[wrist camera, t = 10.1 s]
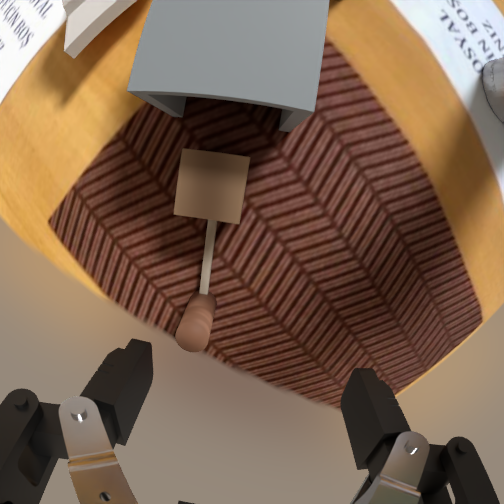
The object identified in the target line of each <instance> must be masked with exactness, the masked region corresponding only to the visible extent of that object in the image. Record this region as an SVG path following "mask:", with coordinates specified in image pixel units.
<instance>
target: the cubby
mask: <svg viewBox="0 0 504 504" xmlns="http://www.w3.org/2000/svg"><path fill="white" fill-rule="evenodd" d="M328 9H329V0H153V1H152V4H151V7H150V10H149V13H148V15H147V18H146V22H145V25H144V28H143V31H142V34H141V38H140V41H139V45H138V48H137V52H136V55H135V59H134V63H133V67H132V71H131V75H130V80H129V84H128V89H127V91H128V92H130V93H132V94H134V95H135V96H137V97H139V98H141V99H143V100H144V101H146V102H148V103H150V104H152V105H153V106H155V107H157V108H159V109H160V110H162V111H164V112H166V113H167V114H169V115H171V116H173V117H183V113H184V108H185V102H186V97H187V96H190V97H202V98H212V99H221V100H230V101H237V102H245V103H251V104H258V105H264V106H270V107H275V108H281V109H282V113H281V119H280V125H279V130H280V131H285V132H290V131H291V130H293V129H294V128H295V127H296V126H297V125H299V124H300V123H301V122H302V121H303V120H305V119H306V118H307V117H308V116H310V115H311V114H312V113H313V112H314V109H315V103H316V96H317V90H318V83H319V77H320V70H321V63H322V55H323V48H324V41H325V33H326V25H327V17H328Z"/></svg>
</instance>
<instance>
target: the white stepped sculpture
mask: <svg viewBox="0 0 504 504" xmlns="http://www.w3.org/2000/svg"><path fill="white" fill-rule="evenodd" d="M136 1H137V0H62V2H63V7H64V9H65V11H66V13H67V22H66V32H65V44H64V51H65V52H66V53H67V54H69V55H70V56H71V57H72V58H75V57H76V56H77V55H78V54H79V53H80V52H81V51H82V50H83V49H84V48H85V47H86V46H87V45H88V44H89V43H90V42H91V41H92V40H93V39H94V38H95V37H96V36H97V35H98V34H99V33H100V32H101V31H102V30H103V29H104V28H105V27H106V26H107V25H109V24H110V23H111V22H112V21H113V20H114V19H115V18H116V17H118V16H119V15H120V14H121V13H122V12H123V11H125V10H126V9H127V8H128V7H130V6H131V5H132V4H133V3H135V2H136Z"/></svg>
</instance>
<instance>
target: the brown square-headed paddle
mask: <svg viewBox="0 0 504 504" xmlns="http://www.w3.org/2000/svg"><path fill="white" fill-rule="evenodd" d="M249 163H250V157H245V156H239V155H232V154H225V153H218V152H210V151H202V150H194V149H184V148H182V154H181V161H180V167H179V175H178V182H177V190H176V198H175V206H174V215H181V216H188V217H195V218H202V219H208V225H207V232H206V240H205V248H204V257H203V265H202V274H201V283H200V290H198V291H196V292H194V293H193V294H192V296H191V298H190V300H189V303H188V305H187V307H186V310H185V312H184V315H183V317H182V319H181V322H180V324H179V326H178V329H177V331H176V335H175V338H176V341H177V343H178V345H179V346H180V347H181V348H183V349H184V350H186V351H189V352H199V351H201V350H203V349H204V348H205V347H206V346H207V344H208V340H209V336H210V331H211V327H212V322H213V318H214V314H215V309H216V305H217V301H216V298H215V296H214V295H213V294H212V293H211V292H209V291H208V289H209V281H210V273H211V265H212V257H213V249H214V242H215V235H216V227H217V221H221V222H228V223H234V224H239V222H240V217H241V212H242V206H243V200H244V194H245V188H246V181H247V175H248V169H249Z"/></svg>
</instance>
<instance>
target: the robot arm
mask: <svg viewBox="0 0 504 504" xmlns="http://www.w3.org/2000/svg"><path fill="white" fill-rule="evenodd" d="M483 85H484V89H485V93H486V96H487V99H488V101H489V103H490V106H491V107H492V109H493V111H494V113H495V114H496V115H497V117H498V118H499V119H500V120H501V121H502V122H503V123H504V57H502V58H499V59H495V60H492V61H489V62H488V63H486V65H485V66H484V70H483ZM152 379H153V362H152V345H151V343H150V342H146V341H141V340H137V339H131V340H130V342H129V343H128V345H127V346H126V348H125V349H121V348H117V349H115V350H114V351H112V352H111V353H109V354H108V355H107V357H106V358H105V359H104V361H103V363H102V364H101V365H100V367H99V368H98V371H96V372H95V374H94V375H93V377H92V378H91V380H90V381H89V383H88V384H87V386H86V387H85V389H84V390H83V392H82V393H81V395H80V396H77V397H76V396H75V397H71V398H68V399H66V400H65V401H64V402H63V403H62V404H51V403H43V402H39V400H38V398H37V396H36V395H35V393H33V392H32V391H30V390H28V389H16V390H14V391H12V392H11V393H9V394H8V395H7V397H6V398H5V399H4V401H3V402H2V403H1V405H0V504H39V502H40V500H41V498H42V495H43V493H44V490H45V488H46V485H47V483H48V481H49V479H50V476H51V474H52V472H53V469H54V467H55V465H56V463H57V460H58V458H62V459H69V461H70V462H68V468H69V472H70V475H71V479H72V482H73V485H74V488H75V491H76V494H77V497H78V500H79V502H80V504H138V502H137V501H136V499H135V497H134V495H133V493H132V491H131V489H130V487H129V485H128V483H127V480H126V478H125V477H124V474H123V472H122V470H121V467H120V465H119V463H118V460H117V458H116V456H115V454H114V452H113V449H114V447H115V444H116V443H117V444H121V445H124V446H125V445H126V443H127V440H128V438H129V436H130V433H131V430H132V428H133V426H134V423H135V421H136V419H137V417H138V414H139V412H140V409H141V407H142V405H143V403H144V400H145V398H146V396H147V393H148V391H149V389H150V386H151V384H152ZM398 405H399V404H398V402H397V400H396V399H395V396H394V393H393V391H392V389H391V388H390V387H389V386H388V385H387V384H386V383H385V382H384V381H383V380H379V379H378V377H377V375H376V373H375V371H374V369H372V368H355V369H354V370H353V371H352V374H351V376H350V378H349V381H348V383H347V385H346V387H345V390H344V392H343V394H342V397H341V410H342V414H343V417H344V421H345V424H346V428H347V432H348V436H349V439H350V443H351V447H352V450H353V455H354V458H355V462H356V466H357V469H358V470H361V469H368V471H369V474H368V475H367V477H366V478H365V480H364V482H363V483H362V485H361V487H360V489H359V490H358V492H357V493H356V495H355V496H354V498H353V500H352V501H351V503H350V504H452V501H451V498H450V496H449V493H448V490H447V487H446V485H448V483H450V485H451V488H452V491H453V493H454V496H455V504H500V503H499V500H498V498H497V495H496V493H495V491H494V488H493V486H492V484H491V481H490V479H489V477H488V474H487V472H486V470H485V468H484V466H483V464H482V462H481V459H480V457H479V455H478V453H477V451H476V449H475V447H474V445H473V444H472V443H471V442H470V441H469V440H468V439H466V438H464V437H454V438H452V439H451V440H450V441H449V442H448V443H447V444H446V446H445V445H433V444H429V443H428V441H427V439H426V438H425V437H424V436H423V435H421V434H419V433H417V432H413V431H411V429H410V427H409V425H408V423H407V421H406V418H405V416H404V414H403V412H402V410H401V408H400V406H398ZM178 504H194V503H188V502H183V501H179V502H178Z"/></svg>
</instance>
